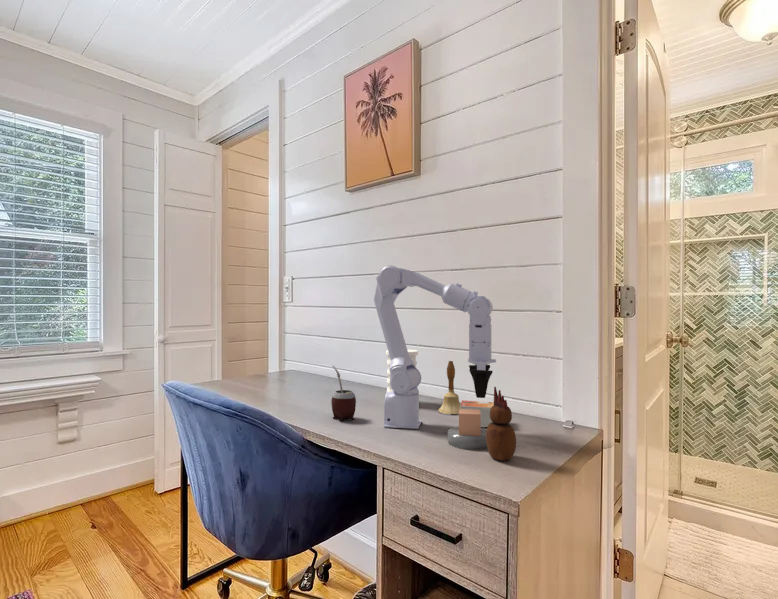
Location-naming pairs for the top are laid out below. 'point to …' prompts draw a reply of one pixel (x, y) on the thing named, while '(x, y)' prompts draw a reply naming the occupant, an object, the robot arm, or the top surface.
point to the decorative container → (411, 353)
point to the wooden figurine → (500, 430)
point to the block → (469, 422)
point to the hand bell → (450, 394)
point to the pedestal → (467, 439)
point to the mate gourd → (343, 403)
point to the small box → (483, 408)
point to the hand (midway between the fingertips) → (480, 394)
